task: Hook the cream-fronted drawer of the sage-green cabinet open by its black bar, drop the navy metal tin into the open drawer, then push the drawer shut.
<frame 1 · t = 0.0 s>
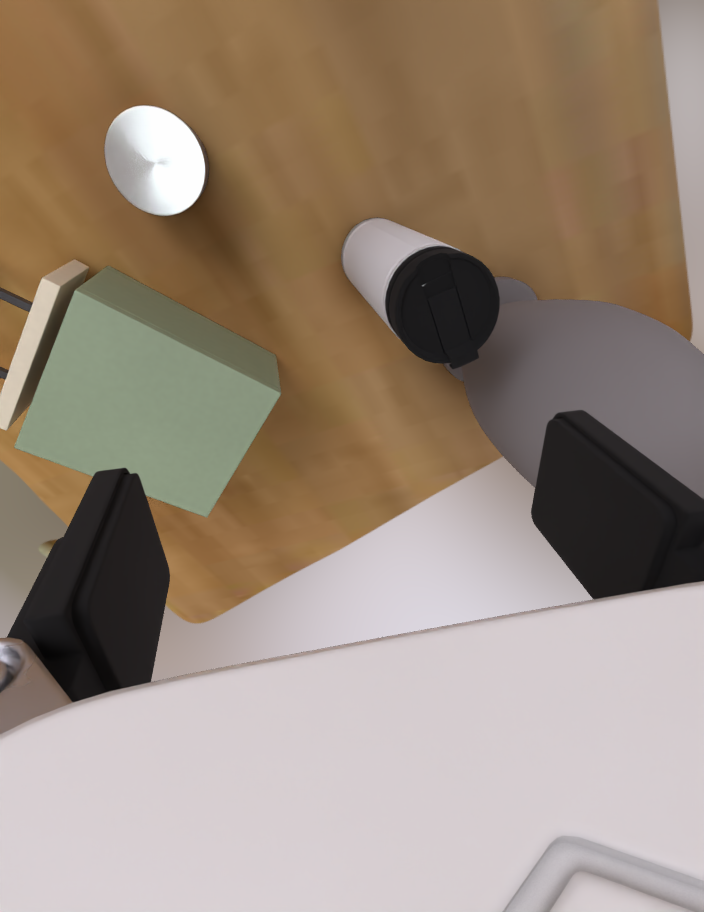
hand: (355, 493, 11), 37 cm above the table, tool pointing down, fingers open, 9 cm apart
tin: (166, 163, 38), on the table
drawer: (93, 366, 41), point 5 cm above the table, slide at 1.0 cm
travel mug: (375, 257, 45), on the table
vase: (486, 330, 50), on the table
cabinet: (166, 376, 47), on the table
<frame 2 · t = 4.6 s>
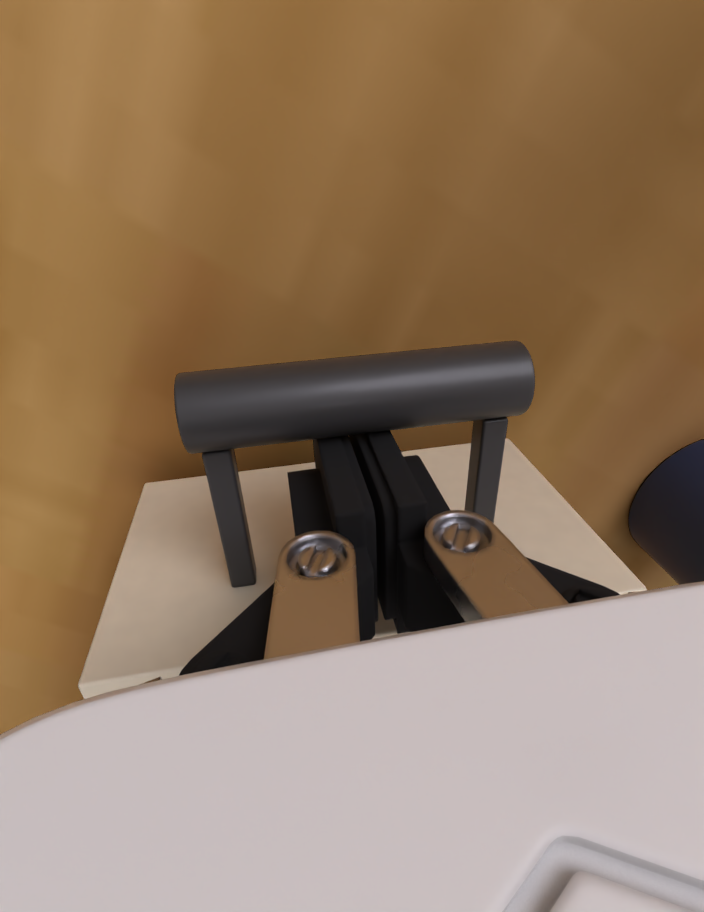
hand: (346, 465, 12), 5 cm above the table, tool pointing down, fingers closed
tin: (694, 496, 22), on the table
drawer: (358, 636, 16), point 5 cm above the table, slide at 2.7 cm
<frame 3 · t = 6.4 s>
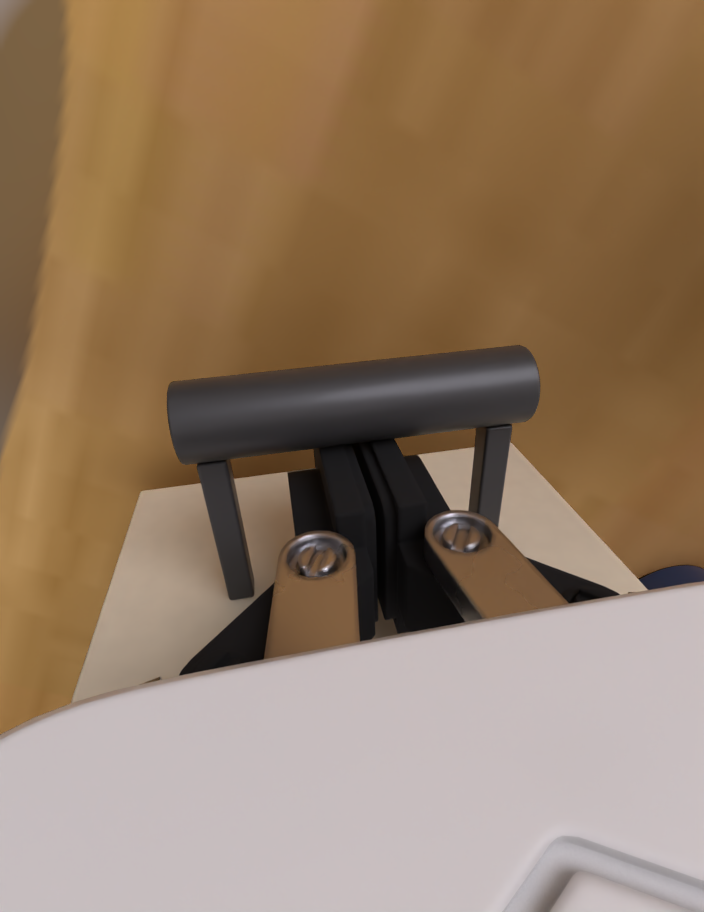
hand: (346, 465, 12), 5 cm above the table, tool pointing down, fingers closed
tin: (655, 611, 26), on the table
drawer: (360, 645, 16), point 5 cm above the table, slide at 9.9 cm
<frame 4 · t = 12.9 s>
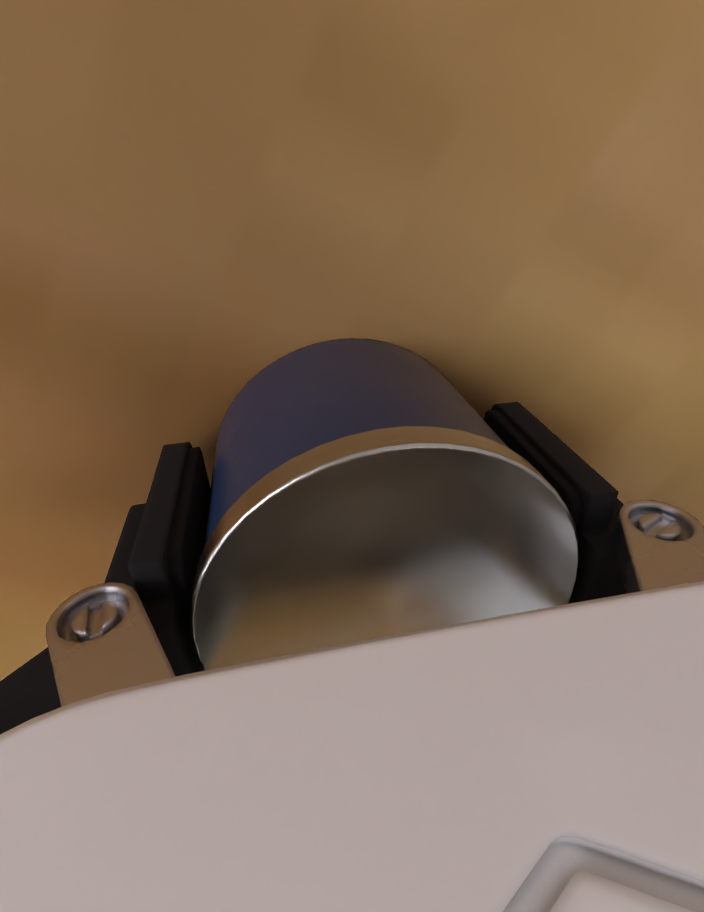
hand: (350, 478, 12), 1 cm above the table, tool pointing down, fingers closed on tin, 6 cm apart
tin: (345, 462, 12), on the table, touching gripper
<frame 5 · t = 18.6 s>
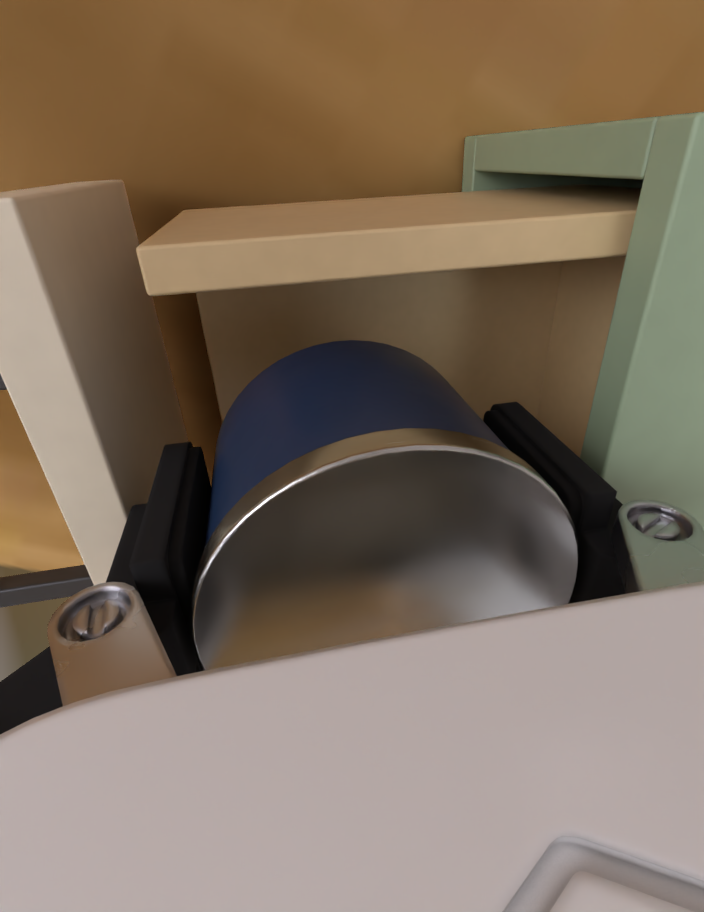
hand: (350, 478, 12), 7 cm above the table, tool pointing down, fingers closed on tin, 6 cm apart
tin: (345, 463, 13), point 7 cm above the table, touching gripper
drawer: (285, 432, 14), point 5 cm above the table, slide at 9.9 cm, touching gripper
cabinet: (640, 333, 20), on the table
when the fingers open (7 cm above the table, at t = 18.9 s): tin drops 4 cm, resting on drawer.
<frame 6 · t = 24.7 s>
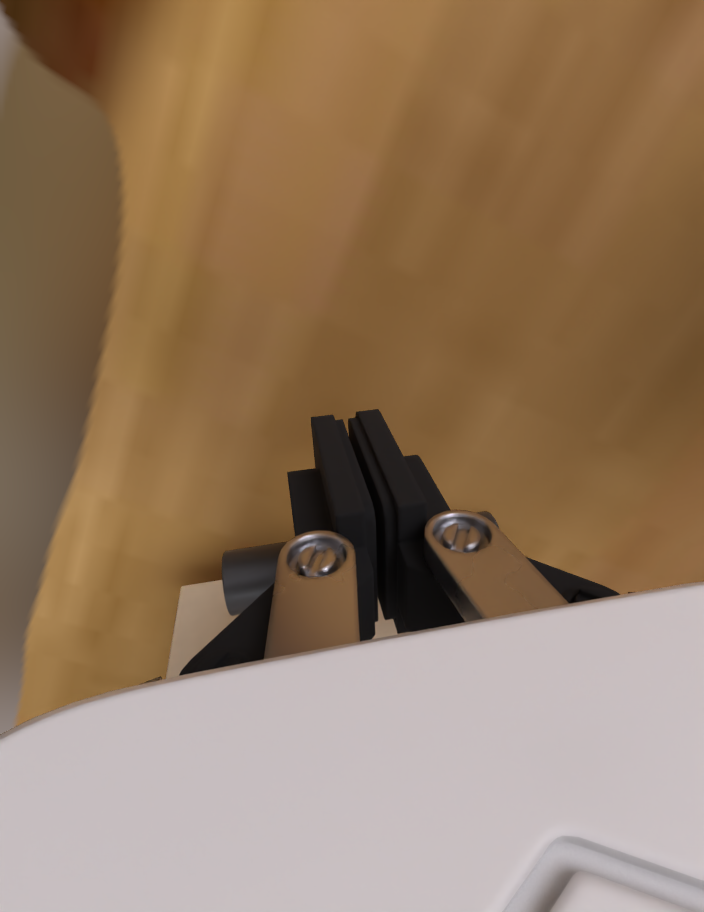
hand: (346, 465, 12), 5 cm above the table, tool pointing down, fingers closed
drawer: (366, 715, 19), point 5 cm above the table, slide at 8.7 cm, touching gripper, tin
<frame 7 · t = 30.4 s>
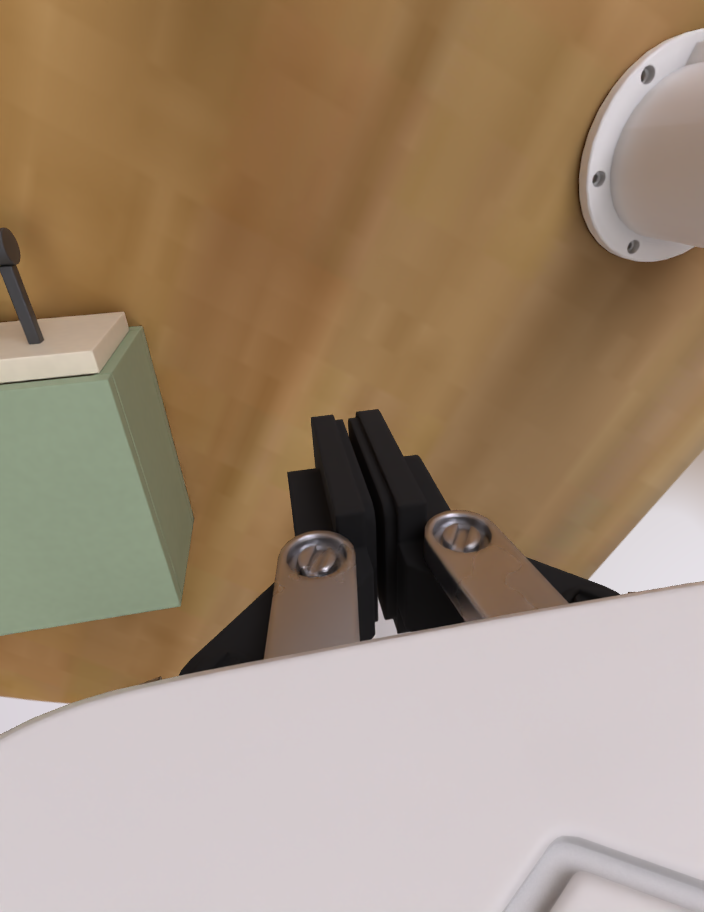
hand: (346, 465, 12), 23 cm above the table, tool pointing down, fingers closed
drawer: (20, 417, 29), point 5 cm above the table, slide at 0.0 cm, touching tin
travel mug: (346, 527, 43), on the table
cabinet: (70, 445, 35), on the table
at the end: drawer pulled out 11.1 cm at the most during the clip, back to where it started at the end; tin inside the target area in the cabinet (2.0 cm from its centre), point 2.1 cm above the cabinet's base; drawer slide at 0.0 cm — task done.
